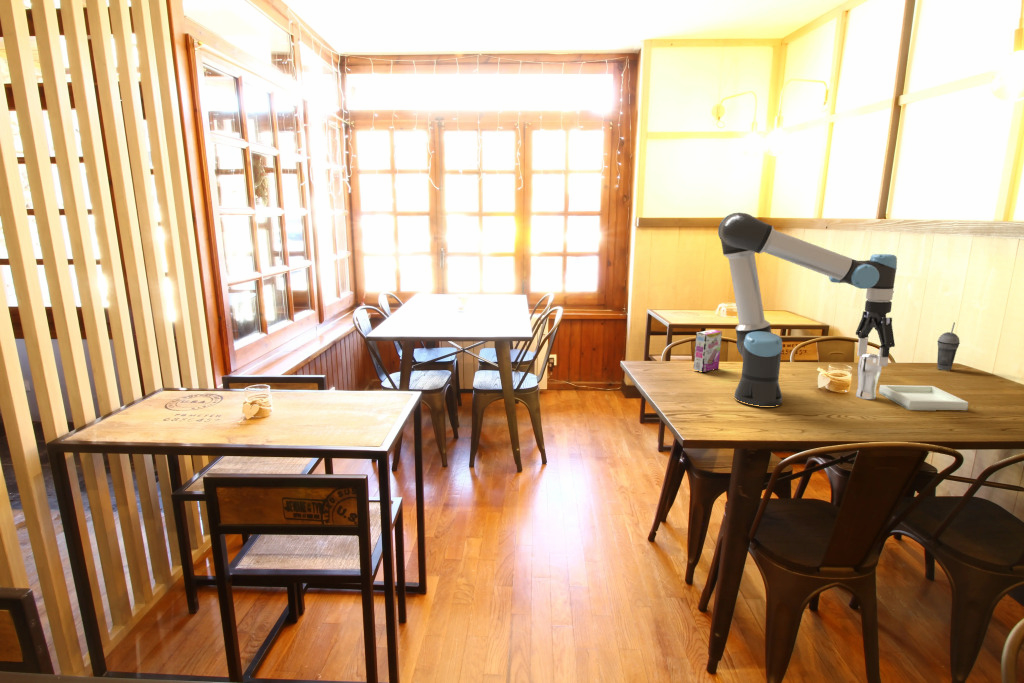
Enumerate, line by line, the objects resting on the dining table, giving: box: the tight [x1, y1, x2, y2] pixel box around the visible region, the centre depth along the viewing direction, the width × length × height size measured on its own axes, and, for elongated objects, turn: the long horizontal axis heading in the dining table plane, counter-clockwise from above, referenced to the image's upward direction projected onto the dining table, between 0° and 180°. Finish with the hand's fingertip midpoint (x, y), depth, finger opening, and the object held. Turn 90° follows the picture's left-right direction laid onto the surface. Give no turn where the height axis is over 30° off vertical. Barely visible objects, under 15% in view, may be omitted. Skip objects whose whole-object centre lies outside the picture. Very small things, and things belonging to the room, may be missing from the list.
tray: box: [878, 384, 969, 412], centre depth 192 cm, size 18×18×3 cm
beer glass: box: [855, 353, 883, 401], centre depth 196 cm, size 7×7×15 cm
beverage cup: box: [936, 322, 961, 371], centre depth 229 cm, size 7×7×20 cm
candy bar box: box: [693, 329, 723, 373], centre depth 231 cm, size 11×5×16 cm, turn 126°
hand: (871, 361), depth 195 cm, fingers open, 13 cm apart
